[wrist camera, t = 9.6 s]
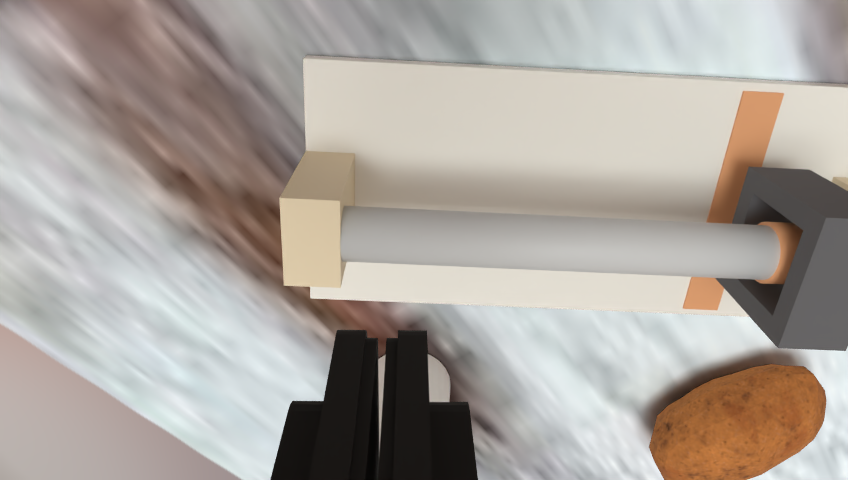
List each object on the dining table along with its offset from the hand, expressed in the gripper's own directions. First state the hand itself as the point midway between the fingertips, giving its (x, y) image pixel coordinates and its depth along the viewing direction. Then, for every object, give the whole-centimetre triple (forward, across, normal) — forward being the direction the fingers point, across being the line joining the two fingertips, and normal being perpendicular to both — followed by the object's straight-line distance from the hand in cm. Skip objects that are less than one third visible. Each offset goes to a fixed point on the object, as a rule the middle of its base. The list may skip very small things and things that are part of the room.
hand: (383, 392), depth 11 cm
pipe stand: (+28, -12, +8) cm, 31 cm away
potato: (+27, -24, +24) cm, 44 cm away
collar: (+24, -22, +8) cm, 33 cm away
